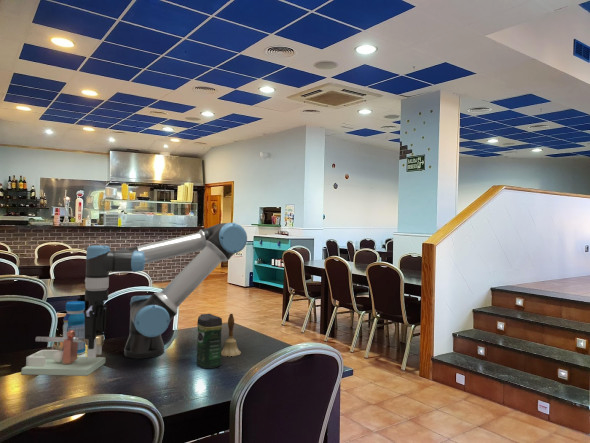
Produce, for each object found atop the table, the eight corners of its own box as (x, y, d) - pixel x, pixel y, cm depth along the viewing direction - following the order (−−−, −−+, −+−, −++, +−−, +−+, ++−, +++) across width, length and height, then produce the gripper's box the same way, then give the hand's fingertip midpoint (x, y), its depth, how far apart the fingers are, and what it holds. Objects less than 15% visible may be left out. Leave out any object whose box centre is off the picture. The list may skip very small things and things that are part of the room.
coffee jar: (224, 366, 157) (225, 315, 158) (204, 370, 153) (205, 317, 153) (212, 359, 165) (213, 311, 166) (193, 363, 160) (194, 313, 161)
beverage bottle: (75, 357, 164) (77, 304, 165) (56, 355, 166) (58, 303, 166) (90, 351, 173) (92, 301, 173) (72, 349, 174) (73, 300, 175)
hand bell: (216, 355, 172) (217, 314, 172) (227, 349, 179) (228, 311, 180) (234, 357, 169) (235, 316, 169) (244, 352, 176) (245, 313, 177)
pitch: (105, 362, 159) (105, 349, 159) (87, 375, 145) (87, 360, 145) (45, 361, 158) (45, 347, 158) (21, 374, 144) (21, 359, 144)
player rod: (104, 359, 154) (105, 329, 154) (98, 364, 149) (99, 332, 149) (39, 358, 154) (41, 327, 154) (31, 362, 149) (32, 331, 149)
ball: (67, 360, 153) (68, 349, 154) (61, 364, 149) (62, 352, 150) (56, 360, 153) (56, 349, 154) (50, 364, 149) (50, 352, 150)
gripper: (96, 285, 160) (94, 349, 160) (74, 292, 144) (71, 362, 143) (116, 286, 160) (114, 349, 160) (97, 292, 144) (94, 363, 143)
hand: (94, 355), depth 152 cm, fingers closed on player rod, 4 cm apart
